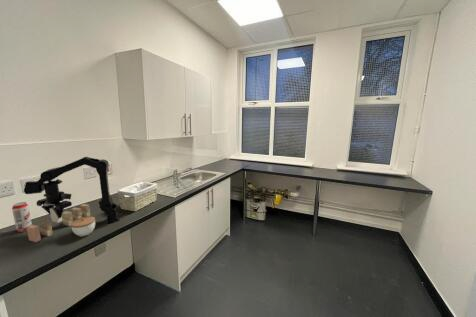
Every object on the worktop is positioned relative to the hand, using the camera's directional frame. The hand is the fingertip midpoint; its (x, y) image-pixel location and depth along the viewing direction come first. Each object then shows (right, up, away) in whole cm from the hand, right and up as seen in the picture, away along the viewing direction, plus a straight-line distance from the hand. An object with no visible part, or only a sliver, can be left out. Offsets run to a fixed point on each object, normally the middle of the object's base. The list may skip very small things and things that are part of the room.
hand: (56, 217), depth 113 cm
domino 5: (+4, -5, +17) cm, 18 cm away
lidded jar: (+18, -9, -2) cm, 20 cm away
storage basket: (+30, -2, +37) cm, 47 cm away
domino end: (-3, -10, -9) cm, 14 cm away
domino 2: (0, -3, 0) cm, 3 cm away
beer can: (-19, -8, 0) cm, 20 cm away
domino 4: (+3, -6, +12) cm, 13 cm away
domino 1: (-2, -9, -4) cm, 10 cm away
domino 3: (+1, -7, +7) cm, 9 cm away
